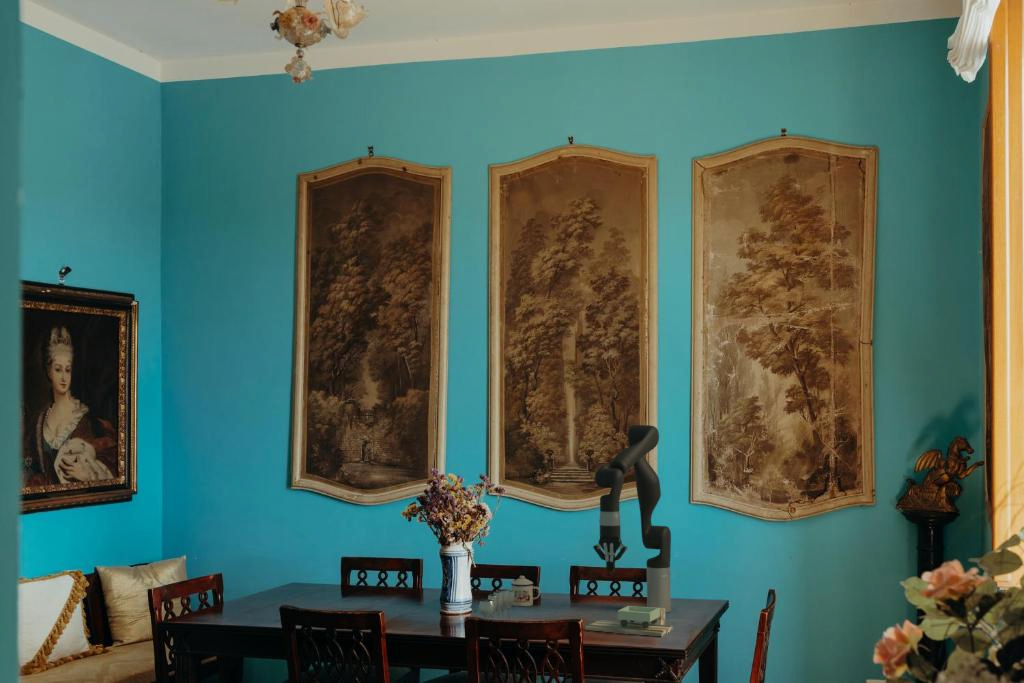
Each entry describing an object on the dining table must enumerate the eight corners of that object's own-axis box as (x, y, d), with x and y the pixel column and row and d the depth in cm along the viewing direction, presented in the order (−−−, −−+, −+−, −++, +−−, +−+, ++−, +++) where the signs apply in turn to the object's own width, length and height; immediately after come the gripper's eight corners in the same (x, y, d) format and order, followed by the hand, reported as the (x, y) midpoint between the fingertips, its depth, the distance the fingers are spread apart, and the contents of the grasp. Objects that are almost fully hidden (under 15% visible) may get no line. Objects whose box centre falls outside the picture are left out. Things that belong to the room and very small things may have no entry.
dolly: (628, 621, 387) (627, 605, 388) (659, 623, 382) (659, 608, 383) (617, 626, 377) (617, 610, 378) (650, 629, 372) (650, 613, 373)
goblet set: (503, 622, 399) (503, 586, 400) (517, 622, 397) (517, 586, 398) (476, 636, 373) (476, 598, 374) (492, 637, 371) (491, 598, 372)
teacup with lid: (510, 606, 431) (510, 577, 432) (511, 602, 440) (511, 574, 441) (539, 607, 430) (539, 577, 431) (540, 603, 439) (540, 574, 440)
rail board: (599, 624, 393) (599, 618, 394) (672, 630, 381) (672, 624, 382) (585, 630, 381) (585, 625, 381) (661, 637, 369) (660, 631, 369)
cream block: (652, 623, 394) (651, 607, 394) (665, 624, 391) (665, 608, 392) (647, 626, 389) (647, 609, 390) (661, 627, 387) (660, 610, 387)
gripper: (630, 523, 387) (631, 571, 386) (596, 522, 393) (597, 569, 392) (623, 525, 381) (624, 574, 379) (589, 524, 386) (589, 572, 385)
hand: (610, 572), depth 386 cm, fingers closed
